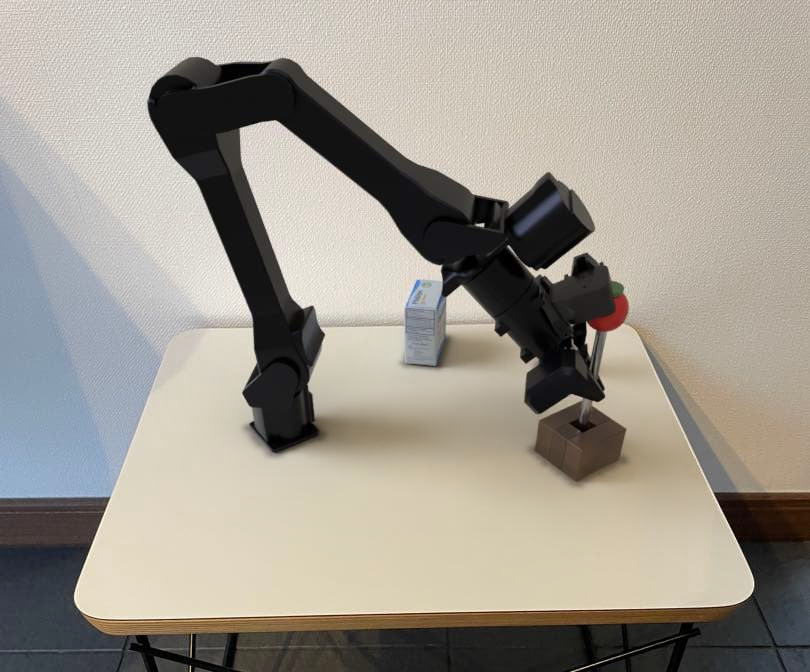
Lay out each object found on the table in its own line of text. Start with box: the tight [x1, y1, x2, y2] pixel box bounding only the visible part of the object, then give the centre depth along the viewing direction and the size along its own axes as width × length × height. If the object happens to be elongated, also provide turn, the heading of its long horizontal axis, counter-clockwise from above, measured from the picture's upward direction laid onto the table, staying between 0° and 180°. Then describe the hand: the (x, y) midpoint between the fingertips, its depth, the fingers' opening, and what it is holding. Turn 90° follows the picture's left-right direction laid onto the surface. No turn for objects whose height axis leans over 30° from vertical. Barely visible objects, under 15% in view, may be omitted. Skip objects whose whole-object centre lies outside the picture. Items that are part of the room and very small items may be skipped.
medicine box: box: [403, 279, 448, 367], centre depth 104 cm, size 8×4×9 cm, turn 168°
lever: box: [577, 280, 630, 433], centre depth 82 cm, size 4×4×19 cm
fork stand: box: [534, 400, 627, 483], centre depth 89 cm, size 7×7×4 cm
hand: (601, 395), depth 84 cm, fingers closed on lever
